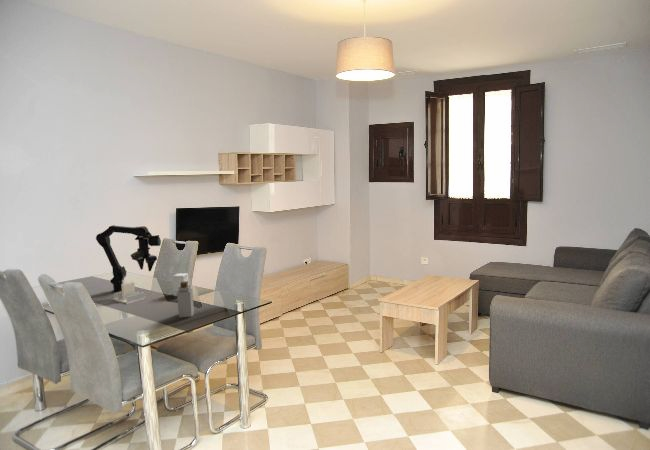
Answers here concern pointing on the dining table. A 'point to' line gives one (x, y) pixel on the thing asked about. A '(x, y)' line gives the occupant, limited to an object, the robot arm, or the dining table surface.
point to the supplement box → (179, 281)
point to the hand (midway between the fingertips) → (145, 270)
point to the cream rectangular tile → (128, 288)
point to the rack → (128, 297)
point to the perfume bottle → (185, 300)
